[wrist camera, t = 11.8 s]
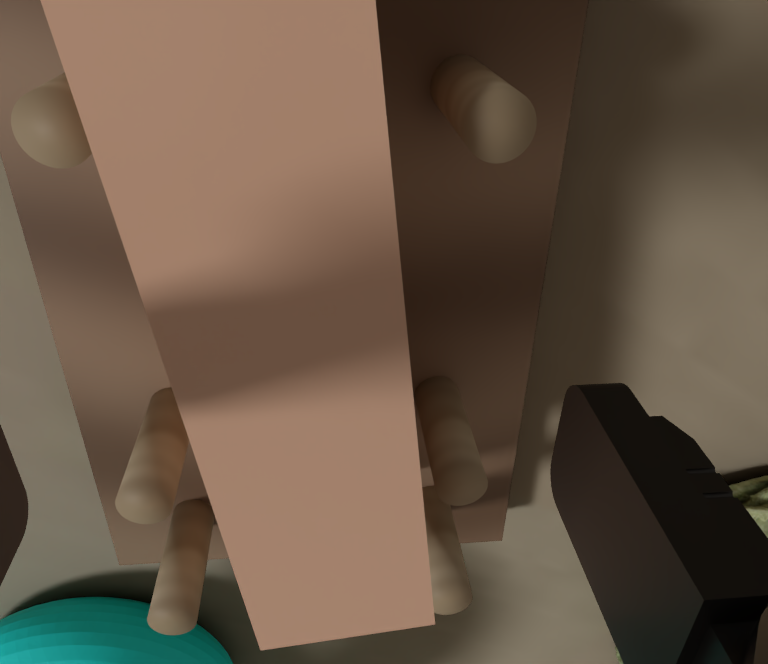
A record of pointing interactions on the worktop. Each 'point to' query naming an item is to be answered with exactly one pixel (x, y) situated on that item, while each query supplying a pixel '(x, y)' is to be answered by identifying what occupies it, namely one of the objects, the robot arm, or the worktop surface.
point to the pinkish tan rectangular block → (269, 286)
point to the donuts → (100, 636)
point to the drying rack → (418, 266)
